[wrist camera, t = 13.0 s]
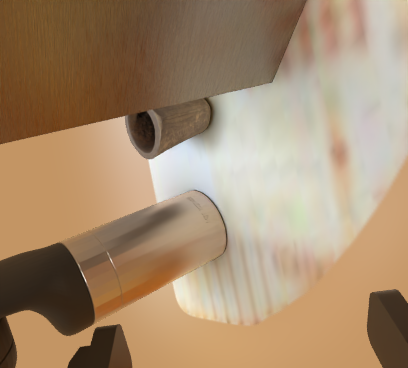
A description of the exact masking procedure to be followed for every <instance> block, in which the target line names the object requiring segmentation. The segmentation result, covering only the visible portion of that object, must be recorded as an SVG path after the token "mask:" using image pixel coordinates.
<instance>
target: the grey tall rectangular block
mask: <svg viewBox="0 0 408 368" xmlns="http://www.w3.org/2000/svg"><path fill="white" fill-rule="evenodd" d="M305 3H306V0H0V144H3V143H7V142H12V141H16V140H20V139H25V138H30V137H34V136H38V135H43V134H47V133H52V132H56V131H60V130H65V129H69V128H74V127H78V126H83V125H87V124H91V123H96V122H100V121H105V120H109V119H113V118H118V117H122V116H127V115H131V114H136V113H140V112H144V111H149V110H153V109H158V108H162V107H166V106H171V105H175V104H180V103H184V102H188V101H193V100H197V99H202V98H206V97H210V96H215V95H219V94H224V93H228V92H233V91H237V90H241V89H246V88H250V87H255V86H259V85H263V84H268V83H272V81H273V78H274V76H275V74H276V71H277V69H278V67H279V64H280V62H281V59H282V57H283V55H284V52H285V50H286V48H287V45H288V43H289V40H290V38H291V36H292V33H293V31H294V29H295V26H296V24H297V22H298V19H299V17H300V14H301V12H302V10H303V7H304V5H305Z"/></svg>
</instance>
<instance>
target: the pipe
mask: <svg viewBox="0 0 408 368" xmlns="http://www.w3.org/2000/svg"><path fill="white" fill-rule="evenodd" d="M210 115H211V110H210V106H209V104H208V103H207V102H206V100H205V99H204V98H202V99H197V100H193V101H188V102H184V103H180V104H175V105H171V106H166V107H162V108H158V109H153V110H149V111H144V112H140V113H136V114H131V115H127V116H125V123H126V128H127V133H128V135H129V138H130V141H131V143H132V144H133V146H134V147H135V149H136V150H137V151H138V152H139V153H140V155H142V156H143V157H144V158H146V159H153V158H155V157H156V156H158V155H160V154H161V153H163V152H165V151H166V150H168V149H170V148H172V147H174V146H175V145H177V144H179V143H181V142H183V141H185V140H187V139H189V138H191V137H193V136H195V135H197V134H199V133H201V132H203V131H204V130H205V129H206V128H207V127H208V125H209V121H210Z"/></svg>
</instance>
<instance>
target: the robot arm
mask: <svg viewBox="0 0 408 368" xmlns="http://www.w3.org/2000/svg"><path fill="white" fill-rule="evenodd" d="M225 246H226V232H225V227H224V224H223V221H222V218H221V216H220V214H219V212H218V210H217V209H216V207H215V206H214V204H213V203H212V202H211V201H210V200H209V199H208V198H207V197H206V196H205V195H204V194H202V193H200V192H198V191H189V192H186V193H183V194H181V195H178V196H176V197H173V198H171V199H168V200H165V201H163V202H160V203H157V204H155V205H152V206H150V207H147V208H145V209H142V210H140V211H137V212H134V213H132V214H130V215H127V216H124V217H122V218H119V219H117V220H114V221H111V222H109V223H106V224H104V225H101V226H99V227H96V228H94V229H92V230H88V231H86V232H84V233H81V234H79V235H77V236H73V237H71V238H69V239H66V240H63V241H61V242H59V243H56V244H53V245H51V246H48V247H45V248H41V249H37V250H33V251H28V252H24V253H21V254H18V255H15V256H12V257H9V258H7V259H4V260H1V261H0V368H15V366H16V361H17V351H16V345H15V342H14V339H13V336H12V333H11V330H10V327H9V324H8V322H7V319H6V316H8V315H11V314H14V313H17V312H20V311H24V310H31V311H34V312H37V313H39V314H41V315H43V316H44V317H45V318H47V319H48V320H49V321H50V323H51V324H52V325H53V326H54V327H55V328H56V329H57V330H58V331H59V332H60V333H62V334H63V335H66V336H71V335H74V334H76V333H79V332H81V331H82V330H84V329H86V328H88V327H90V326H92V325H93V324H95V323H97V322H99V321H101V320H102V319H104V318H106V317H108V316H110V315H112V314H114V313H115V312H117V311H119V310H121V309H122V308H124V307H126V306H128V305H130V304H132V303H134V302H136V301H137V300H139V299H141V298H143V297H145V296H147V295H149V294H150V293H152V292H154V291H156V290H158V289H160V288H161V287H163V286H165V285H167V284H169V283H171V282H173V281H174V280H176V279H178V278H180V277H182V276H184V275H186V274H187V273H189V272H191V271H193V270H195V269H197V268H199V267H201V266H203V265H204V264H206V263H208V262H210V261H212V260H214V259H216V258H217V257H219V256H220V255H222V254H223V252H224V250H225ZM367 332H368V337H369V340H370V343H371V346H372V348H373V349H374V351H375V353H376V355H377V357H378V359H379V361H380V363H381V365H382V367H383V368H408V303H407V302H406V300H405V299H404V297H403V296H402V295H401V293H400V292H399V291H398V290H396V289H394V290H386V291H378V292H372V293H371V294H370V298H369V310H368V322H367ZM68 368H132V361H131V356H130V352H129V349H128V346H127V342H126V339H125V336H124V333H123V330H122V327H121V325H120V324H118V325H111V326H103V327H97V328H96V329H95V331H94V334H93V338H92V341H91V345H90V346H84V347H80V348H79V349H78V351H77V352H76V353H75V355H74V356H73V358H72V359H71V360H70V362H69V365H68Z"/></svg>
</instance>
